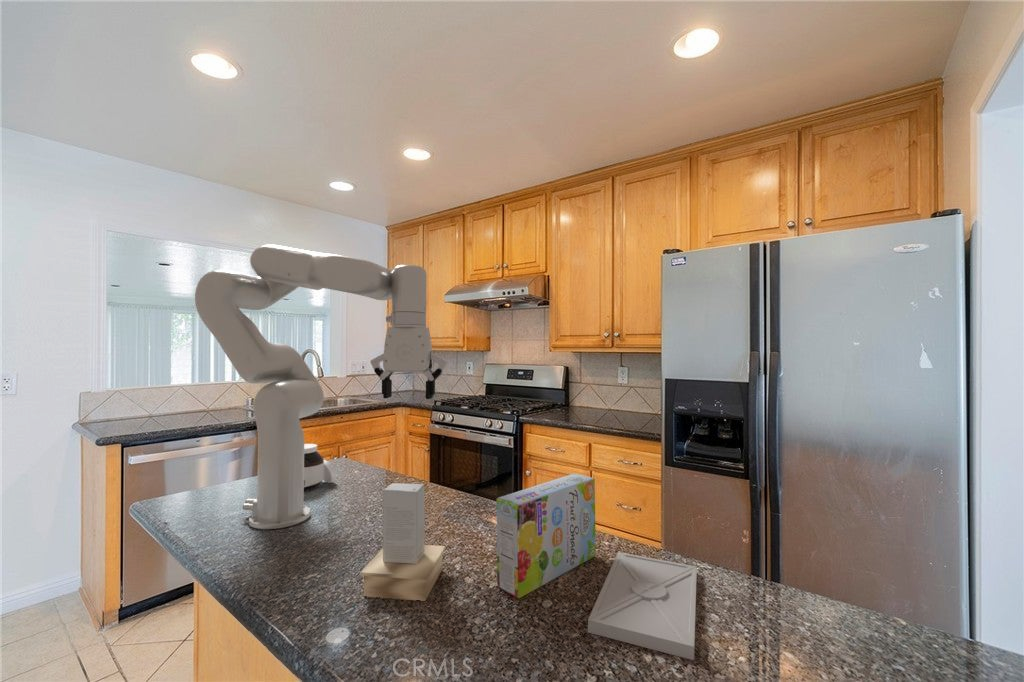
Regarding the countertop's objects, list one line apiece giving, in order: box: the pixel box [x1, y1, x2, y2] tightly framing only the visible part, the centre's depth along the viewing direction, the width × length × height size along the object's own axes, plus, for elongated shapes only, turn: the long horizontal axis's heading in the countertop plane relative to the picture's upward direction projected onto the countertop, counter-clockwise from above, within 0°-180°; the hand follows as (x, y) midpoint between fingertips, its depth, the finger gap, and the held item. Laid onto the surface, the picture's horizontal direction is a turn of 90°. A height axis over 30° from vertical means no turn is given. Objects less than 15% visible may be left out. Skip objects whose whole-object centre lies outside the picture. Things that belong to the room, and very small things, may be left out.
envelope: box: [587, 551, 698, 661], centre depth 70 cm, size 24×2×14 cm
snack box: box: [496, 473, 597, 599], centre depth 79 cm, size 21×6×15 cm, turn 134°
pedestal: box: [359, 544, 446, 602], centre depth 75 cm, size 11×11×4 cm
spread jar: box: [304, 443, 337, 492], centre depth 127 cm, size 12×11×12 cm
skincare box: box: [382, 482, 426, 564], centre depth 75 cm, size 6×4×12 cm
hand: (408, 398), depth 99 cm, fingers open, 9 cm apart
